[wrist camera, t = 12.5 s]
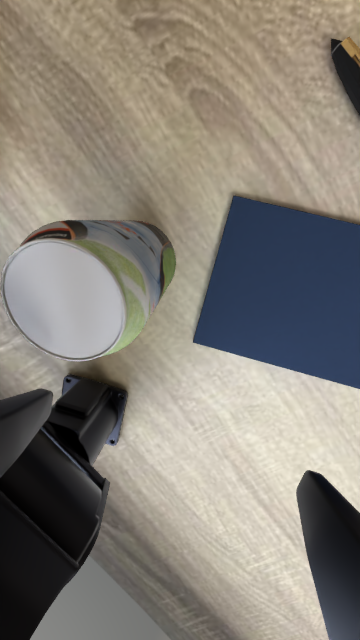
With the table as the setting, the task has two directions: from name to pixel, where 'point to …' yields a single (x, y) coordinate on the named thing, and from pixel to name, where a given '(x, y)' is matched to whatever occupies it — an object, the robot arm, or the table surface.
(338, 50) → the fountain pen
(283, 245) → the blue hardcover notebook
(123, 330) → the beverage can
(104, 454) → the table surface
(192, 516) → the table surface
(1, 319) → the table surface
